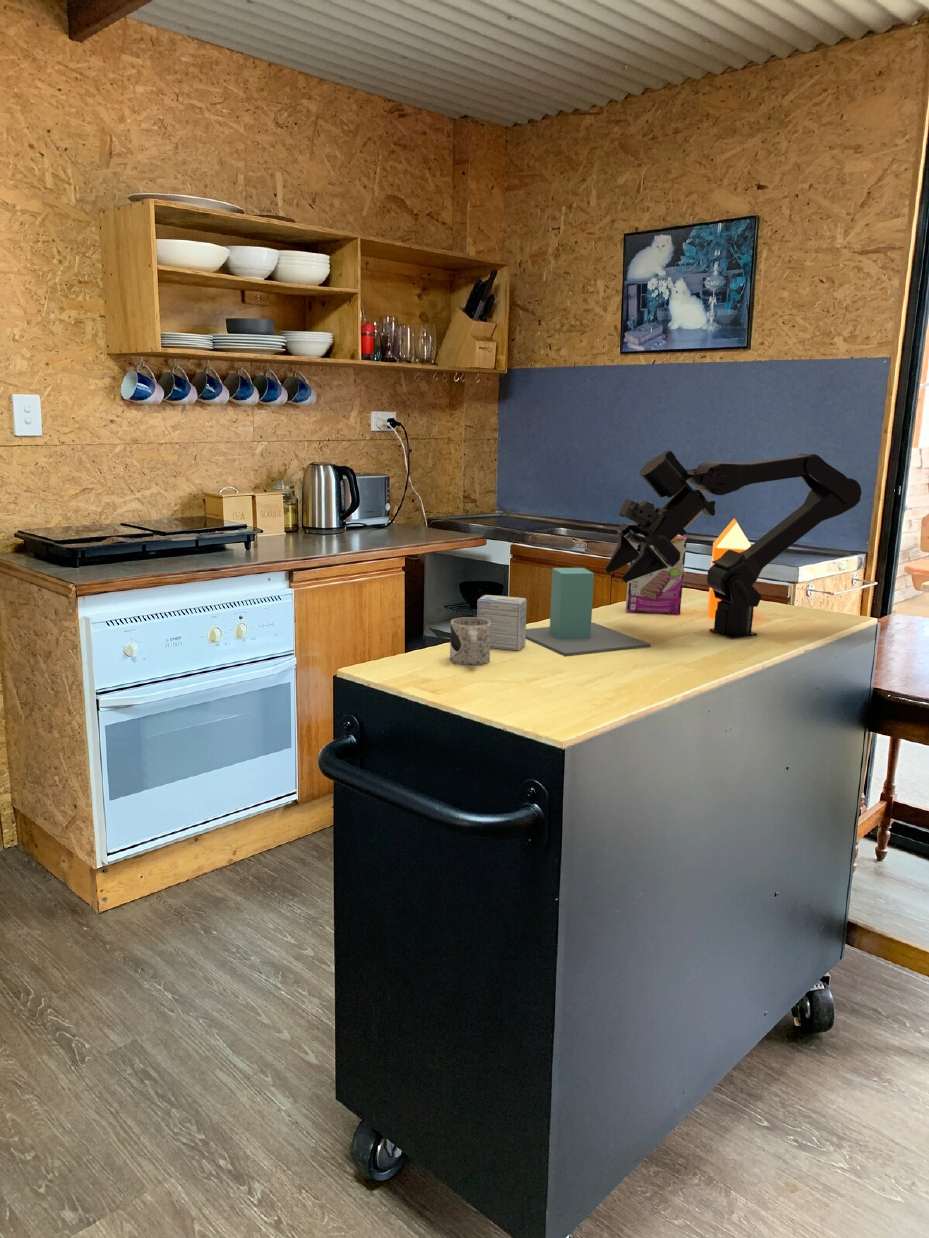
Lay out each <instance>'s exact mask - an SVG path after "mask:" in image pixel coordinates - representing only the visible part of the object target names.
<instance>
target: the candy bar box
mask: <svg viewBox="0 0 929 1238" xmlns="http://www.w3.org/2000/svg"><path fill="white" fill-rule="evenodd" d="M687 541H688V540H687V537H686V536H685V534H684V535H683V536H681V535H678V536H677V537H676V538H675V539H674V540H673V541H672V542H671V543H672V544H673V545H674V546H675V547H676V548H677V549H678V550H679V552H680V560H679V561H678V562H677V563H676V564H675V565H674V566H673V567H671V566H668V565H667V564H666V565H667V566H668V568H666V569H665V568H664V569H661V570H658V571H655V572H652V573H649V574H647V575H644V576H641V577H639V578H636V579H633V580H631V581H628V582H626V583H627V585H626V598H625V609H626V612H627V613H639V614H640V613H641V614H656V615H678V616H680V614H681V609H682V607H681V606H682V595H683V584H684V575H685V574H684V572H685V560H686V550H687ZM639 554H640V553H639ZM634 561H635V560H634ZM634 561H632V562H630V563H628V568H629V567H630V566H631V564H632V563H633V562H634Z"/></svg>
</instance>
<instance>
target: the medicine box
mask: <svg viewBox="0 0 929 1238" xmlns="http://www.w3.org/2000/svg"><path fill="white" fill-rule="evenodd" d="M527 602H528V601H527V599H526V598H525V597H516V596H505V595H493V594H492V595H491V594H484V595H482V596H481V597H480V598H478V599H477V603H476V604H477V606H476V607H477V612H476V618H483V619H487V620H489V621H491V637H490V649H491V648H492V649H499V650H502V649H503V650H510V651H520V650H521V649H522V648H523V647H524V646H525V645H526V643H527V642H526V640H527V639H526V629H527V604H528V603H527Z"/></svg>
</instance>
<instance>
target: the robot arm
mask: <svg viewBox="0 0 929 1238" xmlns="http://www.w3.org/2000/svg"><path fill="white" fill-rule="evenodd" d="M639 476H640V477H641V479H643V481H644V482H645V483H646V484H647V486H649V487H650V488H651V490H652V491H653V492H654V493H655V494H656V495H657V497H659V498H660V499H661V498H665V497H666V498H667V499H669V500H668V501H667V502H665V504H664V505H662V507H658V506H657V507H655V503H651V502H650V501H648V500H642V501H641V502H636V501H635V500H632V499H628V498H625V500H624V502H623V503H622V506H621V507H620V510H619V512H618V513H617V515H619V516H620V517H623V518H627V519H629V520H631V521H633V522H634V523H636V524H634V523H631V522H622V523H621V524H620V526H618V527H617V528H616V531H617V533H616V537H617V546H616V548H615V550H614V552H613V554H612V556H611V557H610V559H609V560H608V562H607V564H606V566H605V568H604V572H606V573H607V574H610V573H613V572H615V571H617V570H619V569H620V568H623V567H624V566H626V565H629V563H630V562H632V561H634V560H635V561H634V562H633V563H632V564H631V566H630V567H629V566H628V568H627V569H626V571H625V572H624V573H623V575H622V576H621V580H622V581H623V582H624V583H628V581H631V580H633V579H636V578H639V577H641V576H644V575H647V574H649V573H652V572H655V571H658V570H661V569H664V568H665V569H666V568H668V566H671V567H673V566H674V565H675V564H676V563H677V562H678V561H679V560H680V552H679V550H678V549H677V548H676V547H675V546H674V545H673V544H672V543H671V542H672V541H673V540H674V539H675V538H676V537H677V536H678V535H681V536H683V535H684V536H685V535H686V533H687V531H686V530H685V529H686V528H687V527H688V526H689V525H690V524H691V523H692V522H693V521H694V520H695V519H696V518H697V517H698V516H699V515H701V513H703V514H704V515H706V516H711V517H714V516H716V501H715V500H711V499H707V497H706V496H705V495H704V494H705V493H706V494H710V495H714V496H724V495H727V494H730V493H733V492H736V491H739V490H740V489H743V488H745V487H747V486H749V485H752V484H753V485H754V484H759V483H765V482H774V481H781V480H787V479H794V478H799V477H801V479H802V480H803V482H804V484H805V485H806V486H807V487H808V488H809V489H810V490H809V492H808V494H807V496H806V497H805V501H804V502H803V504H802V505H800V506H799V507H798V508H797V509H795V510H794V511H793V512H792V513H790V514H789V515H788V516H787V517H785V518H784V519H783V520H781V521H780V522H779V523H778V524H777V525H776V526H774V527H772V529H771V530H770V531H769V530H768V532H767V533H765V534H764V535H762V536H761V537H760V538H759V539H757V540H756V542H754V543H753V544H751V546H750V547H749V548H748V549H746V550H745V551H743V552H740V553H739V552H736V551H733V550H730V549H729V550H728V551H726V552H725V553H724V554H723V555H722V556H721V557H720V558H719V559H717V560H715V561H712V560H711V564H712V563H714V565H713V566H712V567H711V566H710V568H708V570H707V577H706V578H707V579H706V581H707V584H708V586H709V588H710V587H711V588H712V589H713V592H714V595H715V598H717V599H720V600H721V601H719V602H718V603H717V610H716V611H715V619H714V624H713V627H712V628H709V630H708V631H709V632H711V633H714V634H717V635H720V636H722V637H726V638H729V639H739V638H740V639H741V638H749V637H757V636H758V632H755V631H752V629H753V619H754V608H756V607H758V606H759V604H760V601H761V599H762V595H761V594H760V593H759V592H758V590H757V589H756V588H755V587H754V584H755V583H756V582H757V581H758V578H759V576H760V574H761V572H762V571H763V569H764V568H765V567H766V566H768V565H769V564H770V563H771V562H772V561H774V560H775V559H776V558H778V557H779V556H781V554H782V553H784V552H785V551H786V550H788V549H789V548H791V546H793V545H794V544H795V543H796V542H798V541H799V540H800V539H802V538H803V537H804V536H805V535H806V534H808V533H809V532H810V531H812V530H813V529H815V527H816V526H818V525H819V524H821V523H823V522H824V521H827V520H829V519H832V518H836V517H838V516H840V515H843V514H844V513H846V512H848V511H851V510H852V509H854V508H855V507H856V506H857V505H859V503H860V502H861V500H862V498H861V497H862V488H861V485H860V483H859V482H858V481H857V480H856V479H854V478H848V477H847V476H846V475H845V474H844V473H842V472H841V471H839V470H838V469H837V468H835V467H833V466H832V465H830V464H828V463H827V462H826V461H825V460H824V459H823V458H822V457H821V456H820V455H819V454H815V453H808V452H807V453H805V452H803V453H802V452H801V453H799V454H797V455H791V456H784V457H778V458H776V457H775V458H770V459H763V460H756V461H755V460H754V461H749V462H723V461H703V462H701V463H700V464H698V466H697V467H696V468H691V469H690V468H689V469H688V468H687V469H686V468H685V467H684V466H683V465H682V464H681V463H680V461H679V460H678V459H677V457H676V455H675V454H674V453H673V452H672V451H671V450H668V449H667V450H665V451H663V452H662V453H661V454H658V455H657V456H656V457H653V459H651V460H649V461H647V462H646V463H645V465H643V467H642V468H641V469H640V471H639ZM690 484H691V485H692V484H693V485H694V486H695V488H696V489H693V488H692V487H691V486H690ZM639 553H640V554H639ZM666 564H667V565H668V566H667V565H666Z"/></svg>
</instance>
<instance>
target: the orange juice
mask: <svg viewBox="0 0 929 1238" xmlns="http://www.w3.org/2000/svg"><path fill="white" fill-rule="evenodd" d="M751 545H752V544H751V543H750V541H749V540H748V537H747V536H746V535H745V534H744V531H743V530H742V527H740V525H739V523H738V522H737V520H736V519H735V517H734V518H733V519H732V520H731V522H730V523H729V524H728V525H727V526H726V528H725V529H723V531H722V532H721V533H720V534H719V536H717V538H716V539H715V541H713V542H712V553H711V554H712V555H711V563H710V568H711V567H712V566H713V565H714V563H712V561H715V560H717V559H719V558H720V557H721V556H722V555H723V554H724V553H725V552H726V551H728V550H729V549H730V550H733V551H736V552H739V553H740V552H743V551H745V550H746V549H748V548H749V547H750V546H751ZM708 592H709V593H708V601H707V602H708V603H707V614H708V619H713V620H715V611H716V610H717V603H718V602H719V601H721V600H720V599H717V598H715V595H714V592H713V589H712V588H711V587H710V586H709V591H708Z"/></svg>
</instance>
